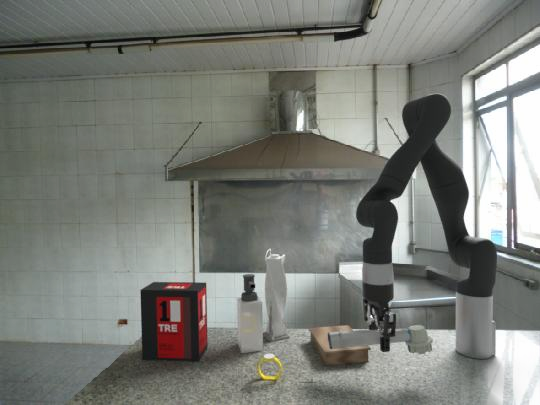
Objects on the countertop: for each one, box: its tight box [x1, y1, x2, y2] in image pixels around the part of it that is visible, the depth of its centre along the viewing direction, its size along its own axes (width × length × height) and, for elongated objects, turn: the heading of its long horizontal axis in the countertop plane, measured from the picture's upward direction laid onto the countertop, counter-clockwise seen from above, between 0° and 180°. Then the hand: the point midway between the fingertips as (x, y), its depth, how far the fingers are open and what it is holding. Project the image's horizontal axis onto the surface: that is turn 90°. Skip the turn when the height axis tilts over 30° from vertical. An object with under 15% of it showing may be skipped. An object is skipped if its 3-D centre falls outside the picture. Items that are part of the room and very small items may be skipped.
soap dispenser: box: [236, 273, 264, 354], centre depth 109 cm, size 6×9×22 cm
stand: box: [308, 324, 372, 366], centre depth 107 cm, size 13×17×4 cm
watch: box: [257, 353, 283, 381], centre depth 92 cm, size 6×3×6 cm, turn 84°
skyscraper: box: [263, 248, 291, 343], centre depth 119 cm, size 8×8×28 cm
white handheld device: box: [328, 324, 434, 355], centre depth 91 cm, size 5×7×25 cm
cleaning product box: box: [139, 281, 209, 363], centre depth 106 cm, size 16×9×20 cm, turn 84°
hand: (379, 345), depth 92 cm, fingers closed on white handheld device, 6 cm apart
